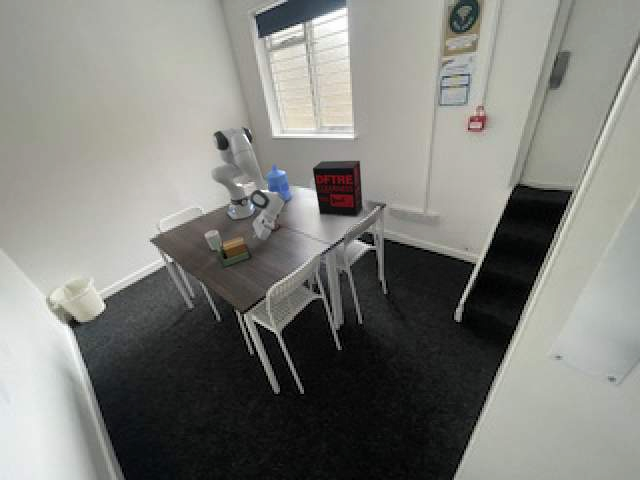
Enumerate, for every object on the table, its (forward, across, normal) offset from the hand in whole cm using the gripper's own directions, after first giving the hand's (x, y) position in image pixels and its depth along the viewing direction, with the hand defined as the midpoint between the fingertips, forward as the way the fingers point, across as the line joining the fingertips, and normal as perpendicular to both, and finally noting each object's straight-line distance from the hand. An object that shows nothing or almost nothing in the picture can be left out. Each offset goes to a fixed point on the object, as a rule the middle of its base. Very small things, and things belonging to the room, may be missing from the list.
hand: (253, 239), depth 150 cm
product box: (-40, -12, +49) cm, 64 cm away
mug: (-7, -19, +16) cm, 26 cm away
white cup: (+20, -17, -11) cm, 28 cm away
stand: (+13, 0, -4) cm, 14 cm away
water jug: (-20, -62, +29) cm, 71 cm away
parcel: (+12, +1, -3) cm, 13 cm away
